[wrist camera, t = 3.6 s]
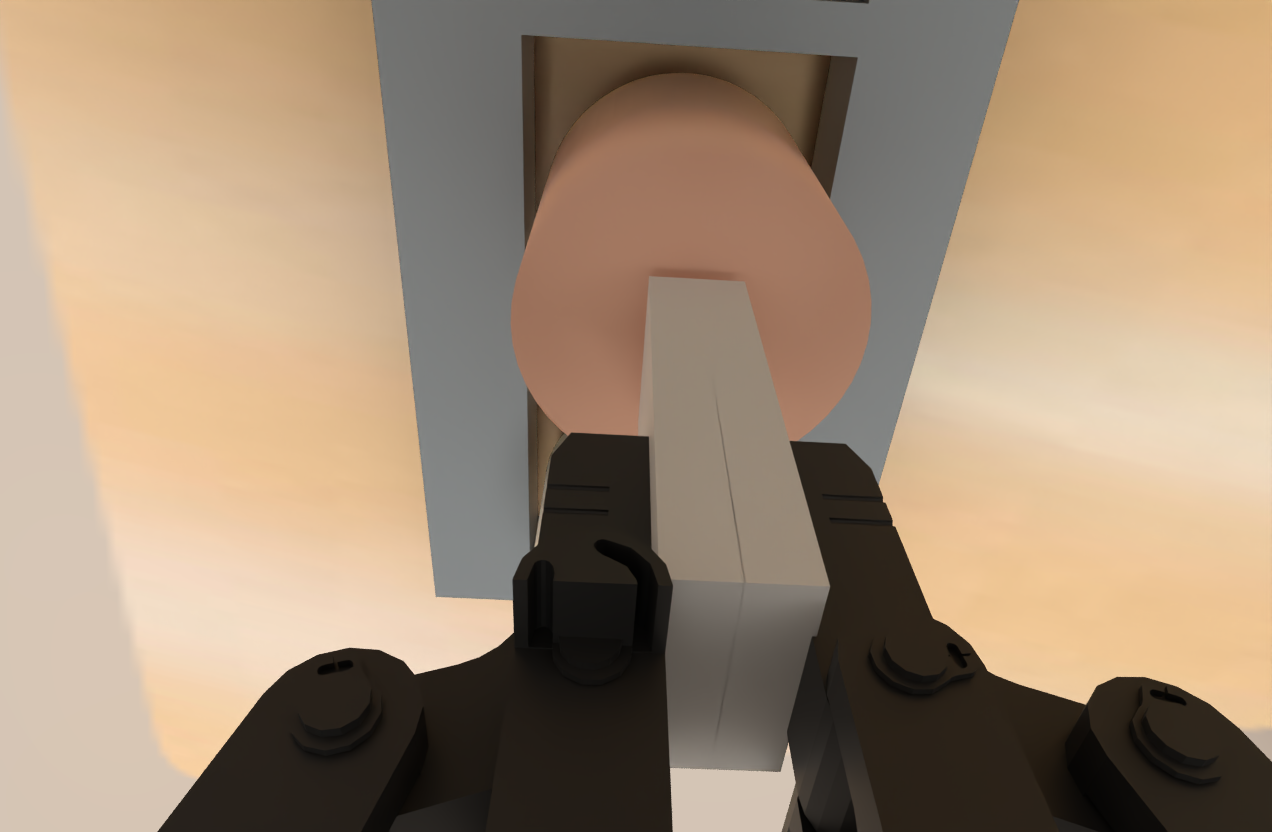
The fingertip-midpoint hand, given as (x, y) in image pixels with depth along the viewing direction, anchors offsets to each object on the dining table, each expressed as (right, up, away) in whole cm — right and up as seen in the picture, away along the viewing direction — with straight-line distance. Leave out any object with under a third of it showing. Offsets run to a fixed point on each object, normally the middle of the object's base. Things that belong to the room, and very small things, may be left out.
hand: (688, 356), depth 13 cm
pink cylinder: (0, +4, +5) cm, 7 cm away
